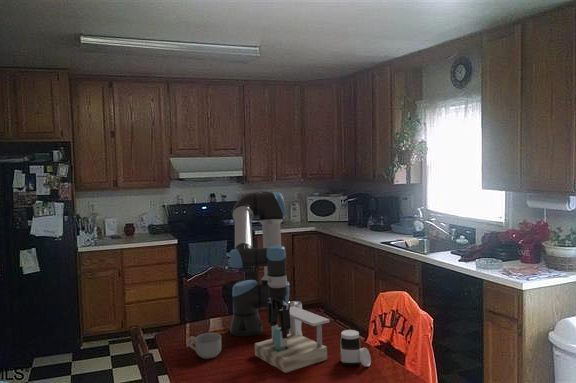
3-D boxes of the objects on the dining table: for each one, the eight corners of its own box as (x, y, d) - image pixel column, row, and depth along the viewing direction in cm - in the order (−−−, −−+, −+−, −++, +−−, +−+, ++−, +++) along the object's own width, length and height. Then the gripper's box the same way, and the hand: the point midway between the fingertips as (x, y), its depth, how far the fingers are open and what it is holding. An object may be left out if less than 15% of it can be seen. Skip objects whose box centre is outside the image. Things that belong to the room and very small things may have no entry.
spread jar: (340, 357, 197) (339, 328, 197) (368, 356, 197) (367, 328, 196) (342, 370, 185) (341, 339, 185) (372, 369, 185) (371, 338, 184)
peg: (273, 358, 197) (272, 329, 196) (281, 356, 199) (280, 326, 199) (278, 361, 194) (277, 331, 193) (287, 359, 196) (286, 329, 195)
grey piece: (279, 335, 211) (278, 309, 210) (295, 331, 215) (294, 306, 215) (314, 351, 191) (313, 323, 190) (330, 346, 195) (329, 319, 195)
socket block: (255, 355, 203) (254, 343, 203) (295, 343, 214) (294, 332, 214) (285, 372, 185) (284, 359, 184) (327, 359, 196) (326, 346, 196)
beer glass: (301, 338, 220) (300, 305, 219) (286, 338, 221) (285, 305, 221) (304, 333, 227) (303, 301, 226) (289, 332, 228) (288, 300, 227)
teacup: (226, 352, 207) (225, 333, 207) (214, 362, 197) (213, 342, 197) (197, 349, 212) (196, 331, 211) (183, 359, 202) (182, 339, 201)
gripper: (257, 283, 200) (259, 339, 202) (282, 291, 185) (284, 352, 187) (272, 280, 205) (275, 335, 206) (298, 288, 190) (300, 348, 191)
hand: (279, 343), depth 196 cm, fingers open, 5 cm apart
